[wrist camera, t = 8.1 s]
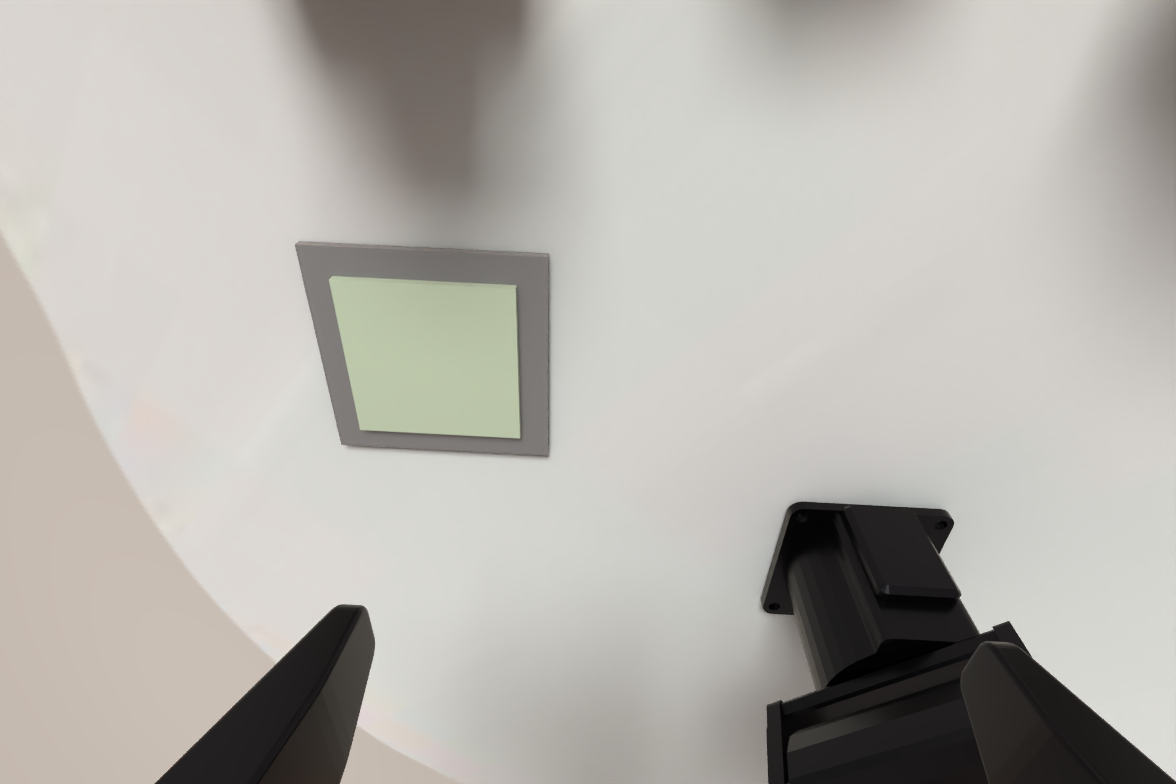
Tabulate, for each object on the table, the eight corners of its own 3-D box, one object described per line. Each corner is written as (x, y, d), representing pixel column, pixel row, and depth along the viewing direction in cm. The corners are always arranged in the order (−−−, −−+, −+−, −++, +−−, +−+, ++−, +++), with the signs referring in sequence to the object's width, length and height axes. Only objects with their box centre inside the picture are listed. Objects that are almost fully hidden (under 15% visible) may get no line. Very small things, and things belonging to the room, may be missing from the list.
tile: (548, 450, 24) (546, 460, 23) (344, 439, 24) (338, 449, 23) (548, 253, 19) (547, 260, 19) (299, 241, 19) (290, 247, 19)
